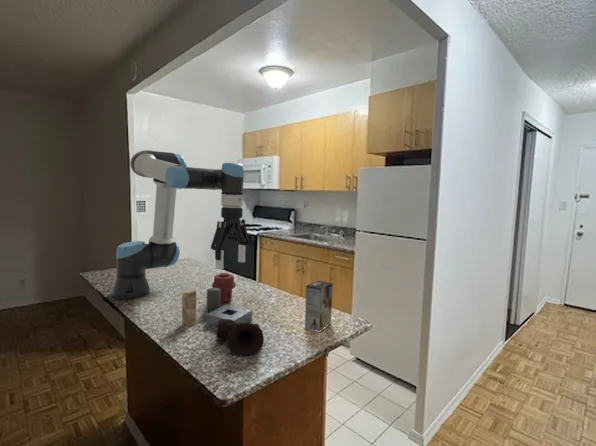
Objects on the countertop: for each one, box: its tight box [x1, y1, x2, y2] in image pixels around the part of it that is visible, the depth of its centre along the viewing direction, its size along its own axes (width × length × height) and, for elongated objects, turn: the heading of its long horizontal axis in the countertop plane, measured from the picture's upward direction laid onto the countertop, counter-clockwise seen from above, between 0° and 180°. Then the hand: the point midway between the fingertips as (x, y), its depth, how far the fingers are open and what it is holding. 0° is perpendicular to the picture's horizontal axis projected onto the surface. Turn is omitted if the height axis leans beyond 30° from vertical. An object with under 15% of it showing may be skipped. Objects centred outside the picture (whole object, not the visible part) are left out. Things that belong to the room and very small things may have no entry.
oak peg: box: [181, 289, 197, 327], centre depth 121 cm, size 3×3×12 cm
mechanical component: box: [211, 272, 237, 305], centre depth 146 cm, size 12×10×10 cm
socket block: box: [205, 304, 253, 329], centre depth 124 cm, size 12×12×4 cm
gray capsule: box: [206, 287, 221, 314], centre depth 134 cm, size 5×5×9 cm
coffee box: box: [304, 280, 333, 331], centre depth 123 cm, size 9×6×16 cm
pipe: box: [215, 319, 265, 357], centre depth 107 cm, size 10×15×15 cm
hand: (231, 265), depth 122 cm, fingers open, 13 cm apart
